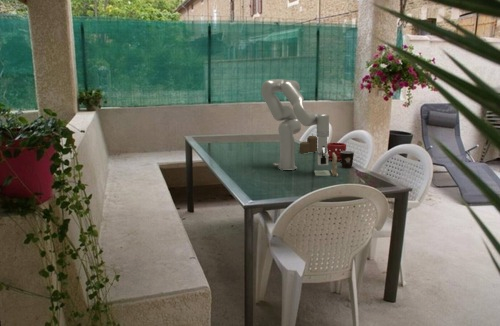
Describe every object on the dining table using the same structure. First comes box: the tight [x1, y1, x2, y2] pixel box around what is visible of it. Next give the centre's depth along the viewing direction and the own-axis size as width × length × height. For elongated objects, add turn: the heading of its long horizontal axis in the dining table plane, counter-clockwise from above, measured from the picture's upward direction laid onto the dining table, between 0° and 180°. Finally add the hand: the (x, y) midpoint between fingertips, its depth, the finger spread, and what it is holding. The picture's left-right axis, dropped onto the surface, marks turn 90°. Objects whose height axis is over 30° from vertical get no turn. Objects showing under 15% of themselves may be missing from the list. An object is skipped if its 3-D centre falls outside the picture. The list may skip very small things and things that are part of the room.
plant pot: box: [327, 142, 347, 162], centre depth 301 cm, size 13×13×12 cm
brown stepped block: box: [299, 133, 318, 153], centre depth 331 cm, size 14×14×15 cm
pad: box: [313, 170, 331, 177], centre depth 264 cm, size 9×11×1 cm
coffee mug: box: [336, 150, 355, 169], centre depth 280 cm, size 12×9×10 cm
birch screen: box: [330, 153, 339, 177], centre depth 263 cm, size 3×13×12 cm, turn 176°
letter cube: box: [317, 153, 329, 166], centre depth 262 cm, size 7×6×6 cm
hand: (322, 162), depth 263 cm, fingers closed on letter cube, 6 cm apart
